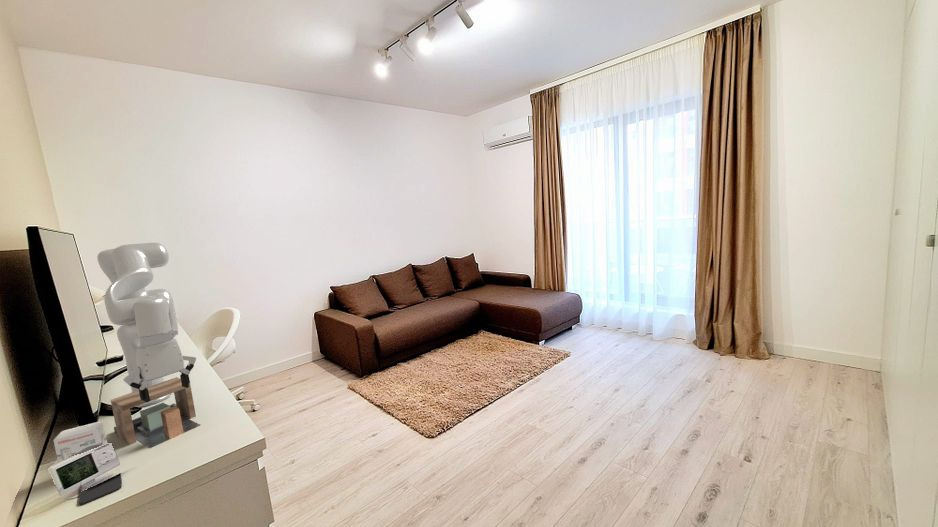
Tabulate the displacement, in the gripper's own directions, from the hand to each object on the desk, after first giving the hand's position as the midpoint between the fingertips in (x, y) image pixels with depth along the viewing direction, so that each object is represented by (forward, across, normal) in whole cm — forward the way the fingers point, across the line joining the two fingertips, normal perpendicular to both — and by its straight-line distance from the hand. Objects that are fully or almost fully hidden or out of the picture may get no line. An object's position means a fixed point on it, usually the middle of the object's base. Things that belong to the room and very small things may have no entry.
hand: (166, 393), depth 109 cm
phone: (+16, +18, +5) cm, 24 cm away
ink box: (+15, +18, -7) cm, 24 cm away
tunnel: (+14, 0, -13) cm, 19 cm away
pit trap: (+14, 0, -20) cm, 25 cm away
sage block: (+13, 0, -12) cm, 18 cm away
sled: (+14, 0, -8) cm, 16 cm away
